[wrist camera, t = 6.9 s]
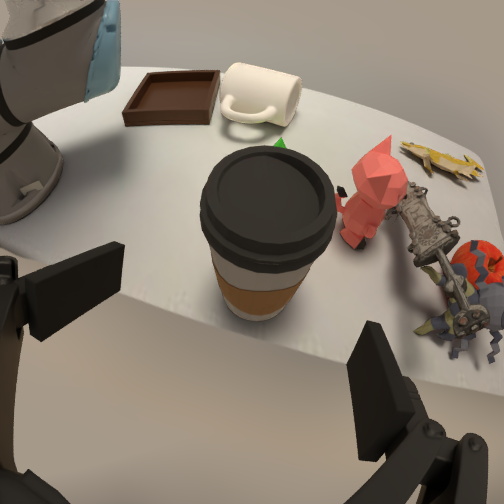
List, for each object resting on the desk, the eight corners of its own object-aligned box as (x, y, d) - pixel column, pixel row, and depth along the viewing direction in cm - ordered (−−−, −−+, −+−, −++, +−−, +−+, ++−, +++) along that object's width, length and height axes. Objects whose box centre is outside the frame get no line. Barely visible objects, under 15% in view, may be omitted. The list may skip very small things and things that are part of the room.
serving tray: (125, 126, 42) (121, 112, 39) (149, 84, 49) (147, 72, 46) (209, 124, 42) (208, 109, 40) (220, 82, 49) (220, 70, 47)
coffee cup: (291, 252, 32) (325, 141, 19) (303, 329, 28) (361, 249, 15) (211, 256, 31) (198, 142, 18) (214, 335, 27) (194, 258, 14)
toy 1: (494, 199, 39) (474, 166, 46) (503, 185, 37) (480, 153, 43) (404, 168, 40) (389, 137, 46) (412, 150, 37) (395, 121, 44)
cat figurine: (375, 263, 32) (428, 194, 21) (318, 244, 32) (351, 164, 22) (380, 215, 35) (422, 144, 25) (329, 197, 36) (358, 119, 25)
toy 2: (411, 346, 31) (521, 352, 23) (407, 368, 28) (526, 373, 20) (421, 225, 26) (550, 231, 18) (421, 238, 23) (564, 245, 15)
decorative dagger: (369, 182, 42) (435, 360, 19) (360, 170, 41) (425, 349, 18) (407, 155, 38) (513, 315, 15) (398, 142, 38) (510, 299, 14)
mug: (242, 95, 47) (243, 55, 40) (297, 111, 45) (305, 70, 38) (205, 132, 41) (203, 86, 34) (270, 152, 40) (276, 104, 33)
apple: (451, 248, 33) (485, 213, 26) (488, 288, 31) (527, 259, 24) (427, 287, 30) (466, 253, 24) (469, 332, 28) (514, 307, 21)
